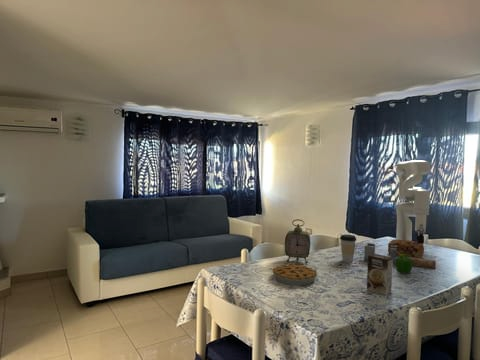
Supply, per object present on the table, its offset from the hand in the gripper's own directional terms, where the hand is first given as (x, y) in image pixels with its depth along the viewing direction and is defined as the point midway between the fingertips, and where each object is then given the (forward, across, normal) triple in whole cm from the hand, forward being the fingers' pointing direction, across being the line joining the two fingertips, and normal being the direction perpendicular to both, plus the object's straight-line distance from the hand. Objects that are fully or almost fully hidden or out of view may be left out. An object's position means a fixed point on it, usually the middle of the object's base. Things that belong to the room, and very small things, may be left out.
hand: (420, 241), depth 190 cm
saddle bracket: (+14, -1, -14) cm, 20 cm away
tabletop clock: (+15, +25, -64) cm, 70 cm away
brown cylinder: (+12, -1, 0) cm, 12 cm away
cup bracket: (+14, -1, -26) cm, 30 cm away
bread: (+14, -21, -7) cm, 27 cm away
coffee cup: (+14, +9, -38) cm, 42 cm away
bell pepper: (+15, +17, -8) cm, 24 cm away
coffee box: (+15, +52, -18) cm, 57 cm away
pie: (+15, +54, -57) cm, 80 cm away
